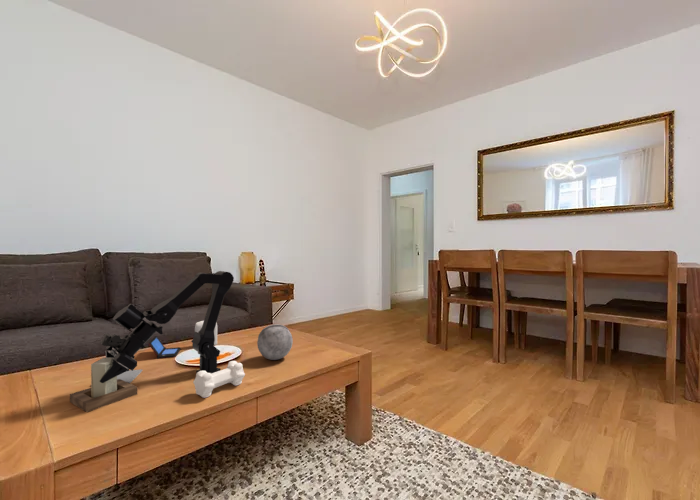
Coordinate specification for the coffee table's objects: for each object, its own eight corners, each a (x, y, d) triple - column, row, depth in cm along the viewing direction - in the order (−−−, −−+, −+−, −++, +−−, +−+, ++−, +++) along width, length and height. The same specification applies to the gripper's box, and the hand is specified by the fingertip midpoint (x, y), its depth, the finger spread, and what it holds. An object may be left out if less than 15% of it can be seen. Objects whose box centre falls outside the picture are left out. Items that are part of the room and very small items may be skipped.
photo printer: (216, 342, 168) (216, 318, 168) (218, 345, 165) (218, 319, 165) (193, 346, 163) (193, 320, 162) (195, 348, 159) (195, 322, 159)
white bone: (205, 402, 106) (206, 377, 106) (191, 392, 112) (192, 369, 111) (245, 386, 118) (247, 364, 118) (231, 378, 124) (232, 356, 123)
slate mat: (142, 370, 131) (142, 369, 131) (129, 383, 119) (129, 381, 119) (107, 373, 128) (107, 371, 128) (90, 386, 117) (90, 384, 117)
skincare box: (103, 394, 111) (103, 357, 111) (117, 393, 111) (117, 356, 111) (90, 402, 105) (90, 364, 104) (105, 402, 105) (105, 363, 105)
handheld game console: (175, 358, 147) (175, 341, 147) (147, 360, 144) (147, 343, 144) (181, 349, 159) (181, 333, 159) (155, 351, 156) (155, 335, 156)
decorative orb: (290, 352, 154) (290, 319, 154) (295, 362, 140) (295, 327, 140) (256, 355, 149) (256, 321, 149) (258, 366, 136) (258, 329, 135)
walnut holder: (137, 394, 111) (137, 386, 111) (86, 412, 99) (86, 403, 99) (119, 386, 117) (119, 378, 117) (69, 402, 105) (69, 394, 105)
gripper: (112, 319, 117) (72, 358, 109) (124, 328, 104) (79, 373, 96) (139, 337, 123) (102, 375, 115) (153, 348, 109) (112, 392, 102)
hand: (98, 378), depth 107 cm, fingers closed on skincare box, 7 cm apart
